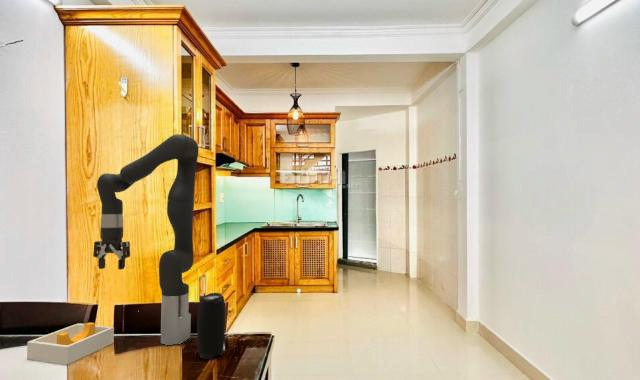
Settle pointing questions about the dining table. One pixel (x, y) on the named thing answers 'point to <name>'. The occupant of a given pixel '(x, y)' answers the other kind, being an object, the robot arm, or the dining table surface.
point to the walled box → (64, 354)
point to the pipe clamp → (87, 331)
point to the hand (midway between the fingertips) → (111, 268)
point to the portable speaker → (211, 325)
